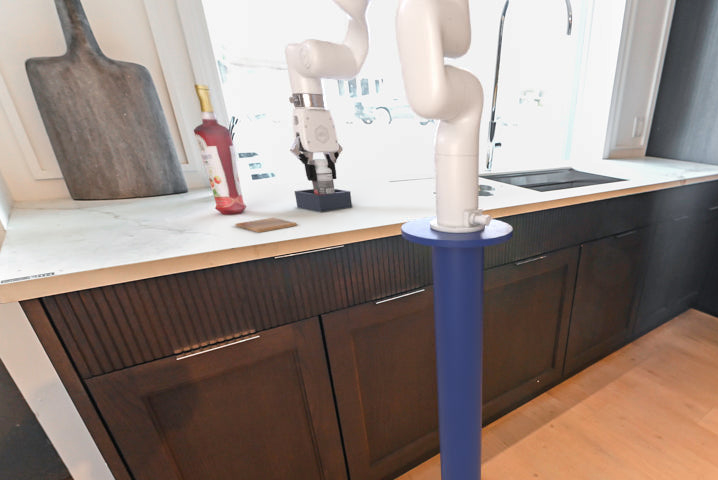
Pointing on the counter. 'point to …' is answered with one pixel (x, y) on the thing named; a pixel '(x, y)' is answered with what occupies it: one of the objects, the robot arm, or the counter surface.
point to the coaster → (265, 224)
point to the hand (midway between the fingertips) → (322, 178)
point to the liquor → (218, 157)
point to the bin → (323, 200)
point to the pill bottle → (323, 177)
